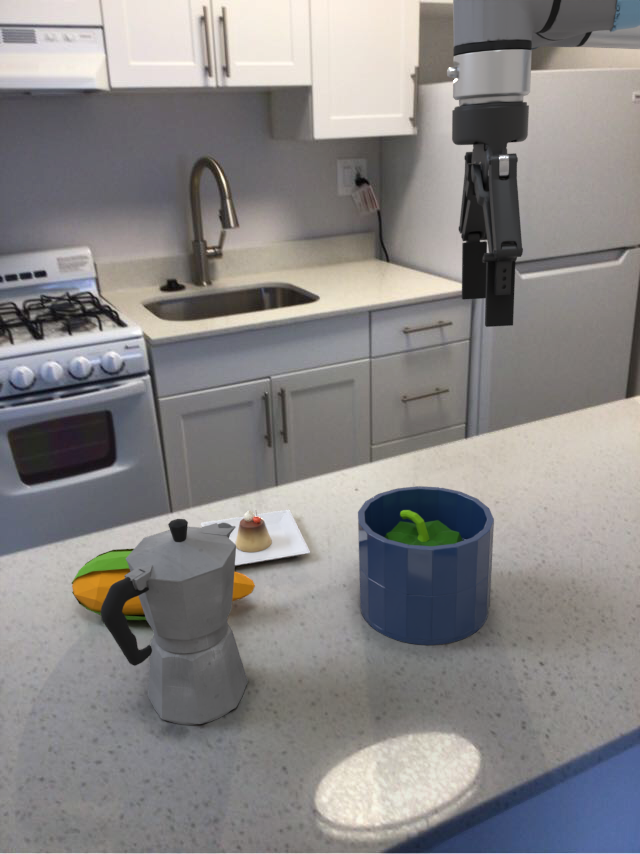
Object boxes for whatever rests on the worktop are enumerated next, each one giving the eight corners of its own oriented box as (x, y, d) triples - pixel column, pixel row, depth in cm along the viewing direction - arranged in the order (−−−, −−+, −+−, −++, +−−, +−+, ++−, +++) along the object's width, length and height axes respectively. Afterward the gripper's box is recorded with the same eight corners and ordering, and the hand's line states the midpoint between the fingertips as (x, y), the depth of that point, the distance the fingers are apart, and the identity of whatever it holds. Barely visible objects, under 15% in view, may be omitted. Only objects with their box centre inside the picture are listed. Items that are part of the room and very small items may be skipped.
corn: (79, 533, 84) (257, 532, 83) (91, 589, 87) (263, 589, 86) (54, 573, 77) (247, 573, 76) (68, 632, 81) (254, 633, 79)
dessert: (310, 560, 92) (309, 525, 90) (212, 577, 89) (208, 541, 87) (289, 516, 103) (287, 484, 101) (201, 530, 100) (197, 497, 98)
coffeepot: (209, 637, 78) (192, 480, 72) (281, 669, 73) (269, 503, 67) (90, 729, 67) (56, 551, 60) (165, 775, 61) (137, 586, 55)
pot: (476, 569, 88) (479, 484, 85) (500, 644, 75) (506, 548, 71) (358, 572, 89) (356, 487, 85) (362, 647, 76) (360, 551, 72)
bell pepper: (477, 603, 81) (481, 521, 77) (415, 629, 77) (416, 543, 74) (429, 568, 88) (430, 491, 84) (370, 590, 84) (368, 510, 81)
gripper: (435, 107, 87) (435, 290, 95) (476, 98, 64) (472, 341, 72) (500, 104, 87) (495, 287, 95) (565, 92, 64) (551, 337, 72)
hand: (485, 311), depth 83 cm, fingers open, 13 cm apart
